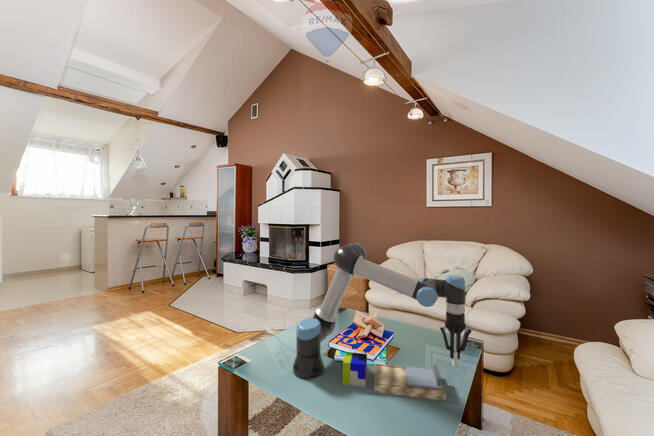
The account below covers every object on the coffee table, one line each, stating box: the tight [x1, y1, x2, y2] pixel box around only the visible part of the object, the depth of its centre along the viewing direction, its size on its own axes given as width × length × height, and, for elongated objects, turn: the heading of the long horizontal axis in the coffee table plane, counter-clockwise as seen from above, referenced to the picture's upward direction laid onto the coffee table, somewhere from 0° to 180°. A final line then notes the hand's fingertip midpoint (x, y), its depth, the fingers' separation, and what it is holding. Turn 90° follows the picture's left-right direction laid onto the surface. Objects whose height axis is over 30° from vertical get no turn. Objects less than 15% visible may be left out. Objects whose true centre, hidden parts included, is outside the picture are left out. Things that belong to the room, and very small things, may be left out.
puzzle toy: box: [342, 351, 368, 387], centre depth 138 cm, size 10×10×10 cm
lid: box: [405, 363, 442, 389], centre depth 134 cm, size 14×14×4 cm
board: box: [373, 363, 447, 402], centre depth 135 cm, size 29×18×3 cm, turn 79°
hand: (454, 365), depth 131 cm, fingers closed
